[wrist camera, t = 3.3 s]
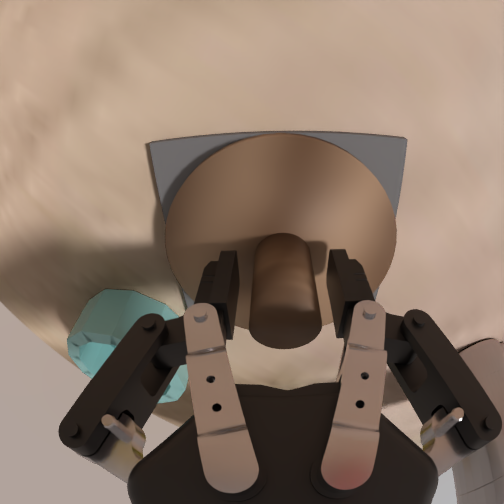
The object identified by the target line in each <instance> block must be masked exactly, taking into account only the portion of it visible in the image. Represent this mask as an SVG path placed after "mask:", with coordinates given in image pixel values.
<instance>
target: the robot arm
mask: <svg viewBox="0 0 504 504" xmlns="http://www.w3.org/2000/svg"><path fill="white" fill-rule="evenodd" d="M326 284H327V290H328V295H329V300H330V305H331V310H332V316H333V321H334V326H335V332H336V337H337V338H344V347H343V350H342V355H341V360H340V365H339V370H338V374H337V378H336V382H333V383H317V384H312V385H308V386H305V387H301V388H297V389H293V390H282V389H277V388H272V387H268V386H264V385H247V384H235V383H234V379H233V375H232V371H231V367H230V363H229V359H228V355H227V351H226V348H225V346H226V339H228V340H233V333H234V325H235V318H236V310H237V302H238V295H239V287H240V276H239V267H238V258H237V251H236V250H231V251H221V252H220V256H219V260H218V261H210V262H209V263H208V264H207V265H206V266H205V268H204V270H203V274H202V277H201V281H200V284H199V287H198V291H197V294H196V298H195V301H194V305H192V306H190V307H189V308H188V309H187V310H186V311H185V313H184V315H183V316H181V317H179V318H174V319H170V320H164V318H163V317H162V316H161V315H159V314H156V313H149V314H146V315H143V316H141V317H140V318H139V319H138V320H137V321H136V322H135V323H134V325H133V326H132V327H131V328H130V330H129V331H128V332H127V333H126V335H125V336H124V337H123V339H122V340H121V341H120V342H119V344H118V345H117V346H116V348H115V349H114V350H113V352H112V353H111V354H110V356H109V357H108V358H107V359H106V361H105V362H104V363H103V365H102V366H101V367H100V369H99V370H98V371H97V373H96V374H95V376H94V377H93V378H92V380H91V381H90V382H89V384H88V385H87V386H86V388H85V389H84V391H83V392H82V393H81V395H80V396H79V398H78V399H77V400H76V402H75V403H74V405H73V406H72V407H71V409H70V410H69V412H68V413H67V415H66V416H65V417H64V419H63V420H62V422H61V423H60V426H59V437H60V439H61V441H62V443H63V444H64V445H66V446H67V447H69V448H71V449H72V450H73V451H75V452H76V453H77V454H79V455H80V456H82V457H83V458H85V459H87V460H89V461H91V462H92V463H95V464H98V465H99V466H101V467H103V468H104V469H106V470H107V471H108V472H110V473H112V474H113V475H115V476H116V477H118V478H119V479H121V480H122V481H124V482H126V483H127V488H128V494H129V498H130V500H131V503H132V504H431V502H432V498H433V497H434V494H435V492H436V489H437V485H438V477H439V476H440V475H441V474H443V473H444V472H446V471H447V470H449V469H450V468H451V467H452V470H453V475H454V482H455V488H456V496H457V504H504V343H500V342H499V341H498V340H496V339H489V340H484V341H482V342H479V343H476V344H474V345H472V346H470V347H469V348H467V349H465V350H464V351H462V352H460V353H458V352H457V351H456V349H455V348H454V347H453V345H452V344H451V343H450V341H449V340H448V339H447V337H446V336H445V335H444V333H443V332H442V331H441V330H440V328H439V327H438V326H437V325H436V323H435V322H434V321H433V320H432V318H431V317H430V316H429V315H428V314H427V313H425V312H424V311H421V310H417V309H413V310H410V311H408V312H406V314H405V315H404V317H402V316H397V315H392V314H389V313H386V312H385V310H384V308H383V307H382V306H381V305H380V304H379V303H377V302H375V299H374V296H373V293H372V290H371V288H370V285H369V282H368V281H367V277H366V274H365V271H364V269H363V266H362V265H361V264H360V263H359V262H358V261H357V260H356V259H349V258H348V255H347V252H346V250H345V249H330V251H329V257H328V266H327V274H326ZM186 364H187V370H188V378H189V384H190V391H191V398H192V404H193V410H194V415H193V416H192V417H191V418H190V419H188V420H187V421H186V422H185V423H184V424H183V425H182V426H181V427H179V429H177V430H176V431H175V432H174V433H173V434H172V435H170V436H169V437H168V438H167V439H166V440H165V441H164V442H162V443H161V444H160V445H159V446H157V447H156V448H155V449H154V450H153V451H151V452H150V453H149V454H148V455H147V456H145V457H144V458H143V448H144V445H145V441H146V437H145V433H144V431H143V430H142V428H143V426H144V425H145V423H146V421H147V420H148V418H149V417H150V415H151V413H152V412H153V410H154V408H155V407H156V405H157V403H158V402H159V400H160V398H161V397H162V395H163V393H164V392H165V390H166V388H167V387H168V385H169V384H170V382H171V380H172V379H173V377H174V375H175V374H176V372H177V370H178V369H179V367H180V366H181V365H186ZM386 364H388V366H389V368H390V369H391V371H392V373H393V374H394V376H395V378H396V379H397V381H398V383H399V384H400V386H401V388H402V389H403V391H404V393H405V394H406V396H407V398H408V400H409V401H410V403H411V405H412V407H413V408H414V410H415V412H416V414H417V415H418V417H419V419H420V421H421V422H422V424H423V426H422V428H421V432H420V437H421V444H422V445H423V450H422V449H421V448H420V447H419V446H417V445H416V444H415V443H414V442H413V441H412V440H411V439H410V438H408V437H407V436H406V435H405V434H404V433H403V432H402V431H401V430H399V429H398V428H397V427H396V426H395V425H394V424H393V423H392V422H391V421H389V420H388V419H387V418H386V417H385V416H384V415H383V414H382V413H381V409H382V402H383V394H384V385H385V375H386Z"/></svg>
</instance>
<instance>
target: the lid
mask: <svg viewBox="0 0 504 504" xmlns="http://www.w3.org/2000/svg"><path fill="white" fill-rule="evenodd" d="M396 232H397V229H396V221H395V215H394V212H393V208H392V205H391V202H390V200H389V198H388V196H387V194H386V192H385V190H384V188H383V187H382V185H381V184H380V182H379V181H378V180H377V178H376V177H375V176H374V175H373V174H372V172H371V171H370V170H369V169H368V168H367V167H366V166H365V165H364V164H363V163H362V162H361V161H360V160H358V159H357V158H356V157H354V156H353V155H352V154H350V153H349V152H348V151H346V150H344V149H342V148H341V147H339V146H337V145H335V144H333V143H331V142H328V141H325V140H322V139H319V138H317V137H312V136H307V135H302V134H294V133H271V134H261V135H257V136H253V137H248V138H244V139H242V140H239V141H237V142H234V143H231V144H229V145H227V146H225V147H223V148H222V149H220V150H218V151H216V152H214V153H213V154H212V155H210V156H209V157H208V158H206V159H205V160H204V161H203V162H201V163H200V164H199V165H198V166H197V167H196V168H195V169H194V171H193V172H192V173H191V174H190V175H189V176H188V178H187V179H186V180H185V182H184V183H183V185H182V186H181V188H180V189H179V191H178V192H177V194H176V196H175V198H174V200H173V202H172V204H171V206H170V210H169V213H168V217H167V221H166V229H165V246H166V252H167V257H168V260H169V263H170V266H171V269H172V271H173V273H174V275H175V277H176V279H177V281H178V282H179V284H180V285H181V287H182V288H183V289H184V291H185V292H186V293H187V294H188V295H189V296H190V298H191V299H192V300H193V301H195V298H196V294H197V291H198V287H199V284H200V281H201V277H202V274H203V270H204V268H205V266H206V265H207V264H208V263H209V262H210V261H218V260H219V256H220V252H221V251H231V250H236V251H237V258H238V267H239V276H240V287H239V295H238V302H237V310H236V318H235V326H238V327H241V328H244V329H249V331H250V334H251V335H252V337H253V338H254V339H255V340H256V341H257V342H259V343H261V344H263V345H265V346H267V347H271V348H276V349H292V348H297V347H300V346H303V345H306V344H308V343H309V342H311V341H312V340H314V339H315V338H316V337H317V336H318V334H319V333H320V331H321V328H322V326H324V325H327V324H330V323H332V322H334V321H333V316H332V310H331V305H330V300H329V295H328V290H327V284H326V274H327V266H328V257H329V251H330V249H345V250H346V252H347V255H348V258H349V259H356V260H357V261H358V262H359V263H360V264H361V265H362V266H363V269H364V271H365V274H366V277H367V281H368V282H369V285H370V288H371V290H372V293H374V291H375V290H376V289H377V288H378V287H379V285H380V284H381V282H382V281H383V279H384V278H385V276H386V274H387V272H388V270H389V268H390V265H391V262H392V259H393V256H394V252H395V246H396Z"/></svg>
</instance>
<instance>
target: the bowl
mask: <svg viewBox="0 0 504 504" xmlns="http://www.w3.org/2000/svg"><path fill="white" fill-rule="evenodd" d="M149 313H156V314H159V315H161V316H162V317H163V318H164V320H170V319H174V318H179V316H178V315H176V314H175V313H174V312H173V311H172V310H171V309H170V308H169V307H168V306H167V305H166V304H163V303H161V302H159V301H156V300H154V299H152V298H149V297H147V296H145V295H142V294H140V293H138V292H136V291H134V290H112V289H104V290H103V291H101V292H100V293H98V294H97V295H95V296H94V297H93V298H91V299H90V300H89V301H88V303H87V304H86V306H85V308H84V309H83V311H82V313H81V315H80V316H79V318H78V320H77V322H76V323H75V325H74V327H73V329H72V331H71V332H70V334H69V336H68V338H67V345H68V353H69V356H70V357H71V358H72V360H73V361H74V362H75V363H76V365H77V366H78V367H79V368H80V369H81V371H82V372H83V373H84V374H86V375H87V376H89V377H90V378H91V379H92V378H93V377H94V376H95V374H96V373H97V371H98V370H99V369H100V367H101V366H102V365H103V363H104V362H105V361H106V359H107V358H108V357H109V356H110V354H111V353H112V352H113V350H114V349H115V348H116V346H117V345H118V344H119V342H120V341H121V340H122V339H123V337H124V336H125V335H126V333H127V332H128V331H129V330H130V328H131V327H132V326H133V325H134V323H135V322H136V321H137V320H138V319H139V318H140V317H141V316H143V315H146V314H149ZM187 381H188V370H187V364H186V365H181V366H180V367H179V369H178V370H177V372H176V374H175V375H174V377H173V379H172V380H171V382H170V384H169V385H168V387H167V388H166V390H165V392H164V393H163V395H162V397H161V398H160V400H159V402H158V403H165V402H172V401H177V400H178V399H179V398H180V396H181V395H182V394H183V392H184V391H185V390H186V386H187ZM158 403H157V404H158Z"/></svg>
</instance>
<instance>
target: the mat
mask: <svg viewBox="0 0 504 504" xmlns="http://www.w3.org/2000/svg"><path fill="white" fill-rule="evenodd" d="M271 133H294V134H302V135H307V136H312V137H317V138H319V139H322V140H325V141H328V142H331V143H333V144H335V145H337V146H339V147H341V148H342V149H344V150H346V151H348V152H349V153H350V154H352V155H353V156H354V157H356V158H357V159H358V160H360V161H361V162H362V163H363V164H364V165H365V166H366V167H367V168H368V169H369V170H370V171H371V172H372V174H373V175H374V176H375V177H376V178H377V180H378V181H379V182H380V184H381V185H382V187H383V188H384V190H385V192H386V194H387V196H388V198H389V200H390V202H391V205H392V208H393V212H394V215H395V219H396V213H397V208H398V203H399V197H400V191H401V185H402V178H403V171H404V164H405V156H406V147H407V139H406V138H404V137H397V136H387V135H377V134H365V133H350V132H328V131H261V132H240V133H224V134H212V135H201V136H191V137H182V138H174V139H166V140H159V141H152V142H151V143H149V145H150V151H151V156H152V162H153V167H154V172H155V177H156V182H157V187H158V192H159V197H160V202H161V206H162V211H163V215H164V220H165V224H166V221H167V217H168V213H169V210H170V206H171V204H172V202H173V200H174V198H175V196H176V194H177V192H178V191H179V189H180V188H181V186H182V185H183V183H184V182H185V180H186V179H187V178H188V176H189V175H190V174H191V173H192V172H193V171H194V169H195V168H196V167H197V166H198V165H199V164H200V163H201V162H203V161H204V160H205V159H206V158H208V157H209V156H210V155H212V154H213V153H214V152H216V151H218V150H220V149H222V148H223V147H225V146H227V145H229V144H231V143H234V142H237V141H239V140H242V139H244V138H248V137H253V136H257V135H261V134H271ZM378 289H379V287H378V288H377V289H376V290H375V291H374V293H373V296H374V299H376V296H377V292H378ZM182 290H183V294H184V297H185V301H186V304H187V308H189V307H190V306H192V305H194V301H193V300H192V299H191V298H190V296H189V295H188V294H187V293H186V292H185V291H184V289H183V288H182Z"/></svg>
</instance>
